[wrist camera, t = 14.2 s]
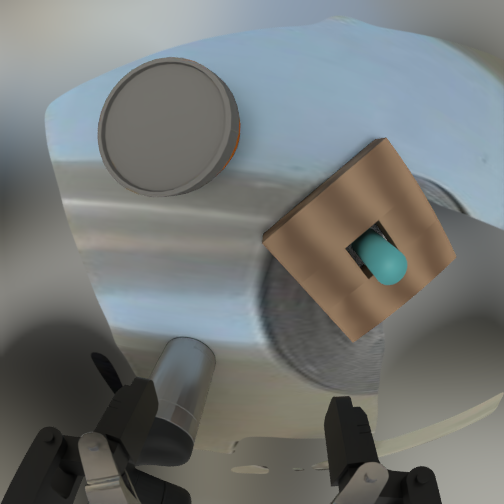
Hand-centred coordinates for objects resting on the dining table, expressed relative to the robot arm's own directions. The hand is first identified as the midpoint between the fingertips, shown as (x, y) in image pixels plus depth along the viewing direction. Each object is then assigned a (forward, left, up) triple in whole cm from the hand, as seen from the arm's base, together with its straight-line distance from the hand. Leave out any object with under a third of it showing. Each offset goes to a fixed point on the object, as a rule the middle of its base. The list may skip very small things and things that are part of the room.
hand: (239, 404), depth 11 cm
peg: (+10, -10, -28) cm, 31 cm away
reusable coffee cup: (+3, +15, -28) cm, 32 cm away
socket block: (+10, -10, -28) cm, 31 cm away
